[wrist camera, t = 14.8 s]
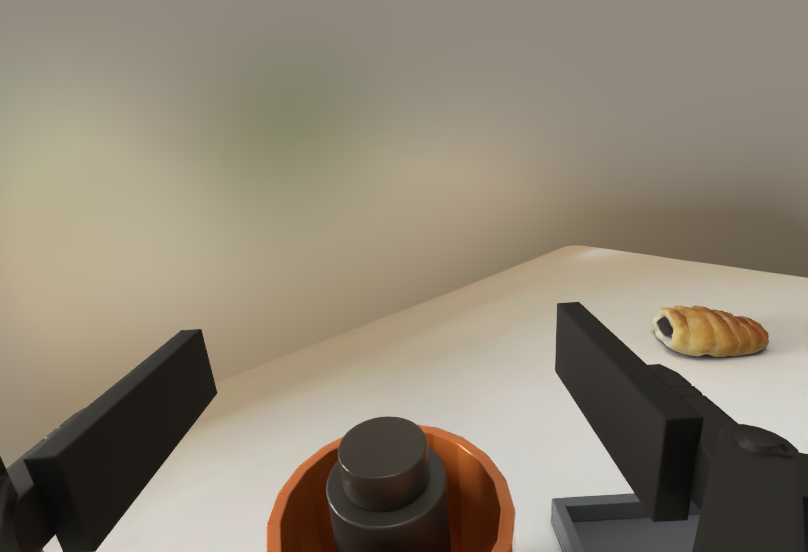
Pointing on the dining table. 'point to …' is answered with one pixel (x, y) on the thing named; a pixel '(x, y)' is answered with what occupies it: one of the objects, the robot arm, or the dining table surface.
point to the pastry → (708, 332)
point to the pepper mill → (388, 490)
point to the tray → (619, 526)
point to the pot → (466, 487)
